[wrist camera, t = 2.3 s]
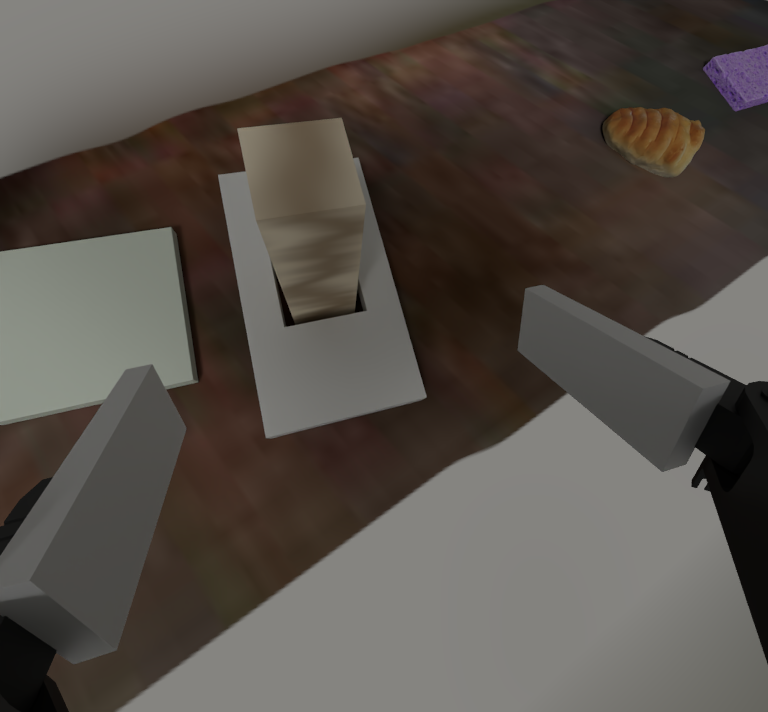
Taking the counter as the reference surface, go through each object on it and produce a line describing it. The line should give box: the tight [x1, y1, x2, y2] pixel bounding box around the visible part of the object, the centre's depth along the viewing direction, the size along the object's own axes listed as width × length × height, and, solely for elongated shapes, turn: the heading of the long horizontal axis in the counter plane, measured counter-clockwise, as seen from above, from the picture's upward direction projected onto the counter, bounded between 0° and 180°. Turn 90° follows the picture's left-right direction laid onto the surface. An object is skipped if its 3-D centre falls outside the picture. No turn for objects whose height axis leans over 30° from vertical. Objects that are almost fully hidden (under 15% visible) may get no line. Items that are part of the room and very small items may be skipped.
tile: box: [0, 227, 198, 425], centre depth 27 cm, size 13×13×1 cm
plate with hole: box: [218, 158, 427, 438], centre depth 29 cm, size 12×22×2 cm, turn 15°
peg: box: [237, 118, 366, 325], centre depth 23 cm, size 5×5×14 cm
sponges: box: [703, 45, 768, 111], centre depth 43 cm, size 7×13×2 cm, turn 113°
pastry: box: [603, 107, 705, 177], centre depth 37 cm, size 9×7×4 cm
